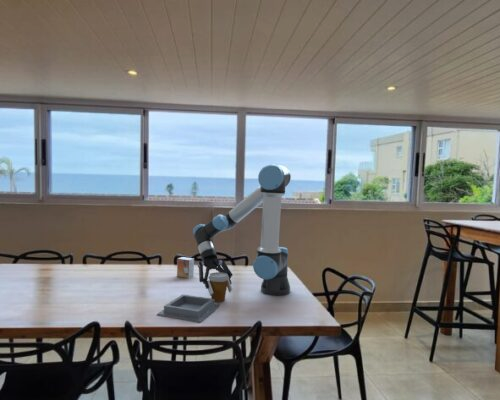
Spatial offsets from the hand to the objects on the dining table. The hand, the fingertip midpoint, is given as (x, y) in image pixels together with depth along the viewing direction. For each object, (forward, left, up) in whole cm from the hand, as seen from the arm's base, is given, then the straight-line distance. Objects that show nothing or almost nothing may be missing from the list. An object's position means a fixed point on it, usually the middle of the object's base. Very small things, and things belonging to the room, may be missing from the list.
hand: (221, 292), depth 166 cm
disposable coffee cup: (+2, -2, -5) cm, 6 cm away
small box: (+35, -31, -5) cm, 47 cm away
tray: (+8, +15, -4) cm, 18 cm away
